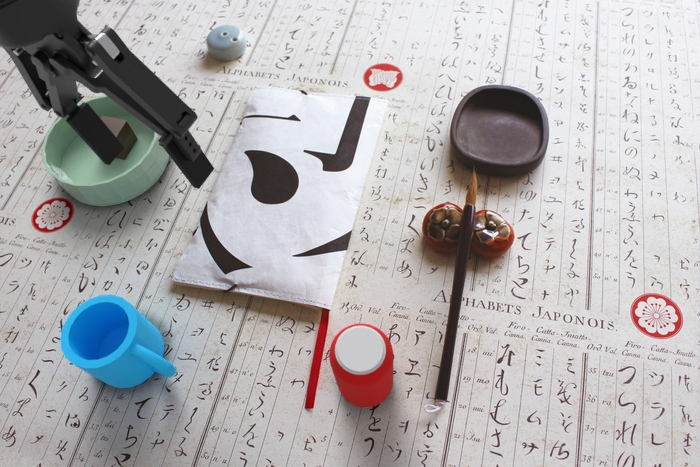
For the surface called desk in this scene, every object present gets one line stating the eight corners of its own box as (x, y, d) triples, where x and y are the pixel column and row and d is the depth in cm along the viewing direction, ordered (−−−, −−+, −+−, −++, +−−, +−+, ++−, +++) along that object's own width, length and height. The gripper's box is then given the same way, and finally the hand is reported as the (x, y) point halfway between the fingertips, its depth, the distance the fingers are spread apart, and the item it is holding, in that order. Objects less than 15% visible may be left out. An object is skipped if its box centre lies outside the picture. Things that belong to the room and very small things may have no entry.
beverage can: (354, 345, 65) (347, 307, 54) (402, 370, 63) (404, 335, 52) (328, 392, 62) (315, 362, 52) (377, 420, 60) (374, 393, 50)
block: (125, 160, 79) (112, 142, 76) (100, 154, 80) (87, 137, 77) (138, 138, 81) (126, 120, 78) (114, 133, 82) (101, 115, 78)
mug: (81, 370, 65) (44, 349, 58) (123, 310, 69) (92, 283, 62) (165, 414, 62) (136, 397, 55) (204, 349, 66) (181, 325, 59)
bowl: (111, 226, 75) (94, 206, 71) (38, 171, 80) (18, 150, 76) (192, 147, 81) (181, 125, 76) (119, 102, 86) (105, 78, 82)
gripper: (146, -54, 38) (268, 159, 54) (-43, -49, 50) (103, 125, 66) (73, 14, 35) (226, 219, 51) (-111, 2, 46) (61, 171, 63)
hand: (157, 166), depth 58 cm, fingers open, 13 cm apart
